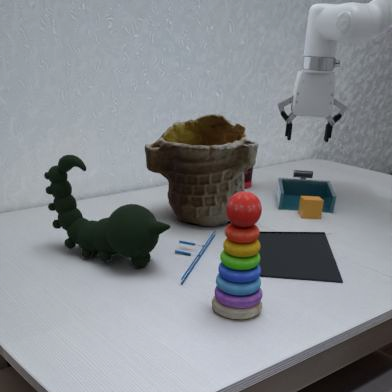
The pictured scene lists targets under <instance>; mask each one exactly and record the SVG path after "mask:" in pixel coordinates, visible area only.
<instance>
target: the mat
mask: <svg viewBox="0 0 392 392" xmlns="http://www.w3.org/2000/svg"><path fill="white" fill-rule="evenodd" d="M259 231H260V230H259ZM257 240H258V241H259V242H260V250H259V252H258V253H259V255H260V262H259V266H260V268H261V273H260V276H259V277H260V278H261V277H262V278H273V279H274V278H275V279H289V280H300V281H314V282H327V283H344V280H343V277H342V275H341V272H340V269H339V267H338V264H337V261H336V258H335V256H334V254H333V250H332V248H331V245H330V243H329V240H328V236H327V234H326V232H325V231H263V230H262V231H260V234H259V237H258V238H257Z"/></svg>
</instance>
